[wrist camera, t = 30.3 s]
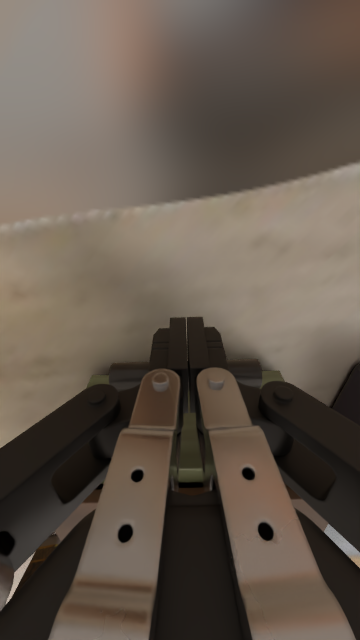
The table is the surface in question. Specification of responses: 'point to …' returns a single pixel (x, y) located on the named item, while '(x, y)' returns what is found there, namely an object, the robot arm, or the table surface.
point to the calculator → (350, 397)
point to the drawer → (190, 464)
